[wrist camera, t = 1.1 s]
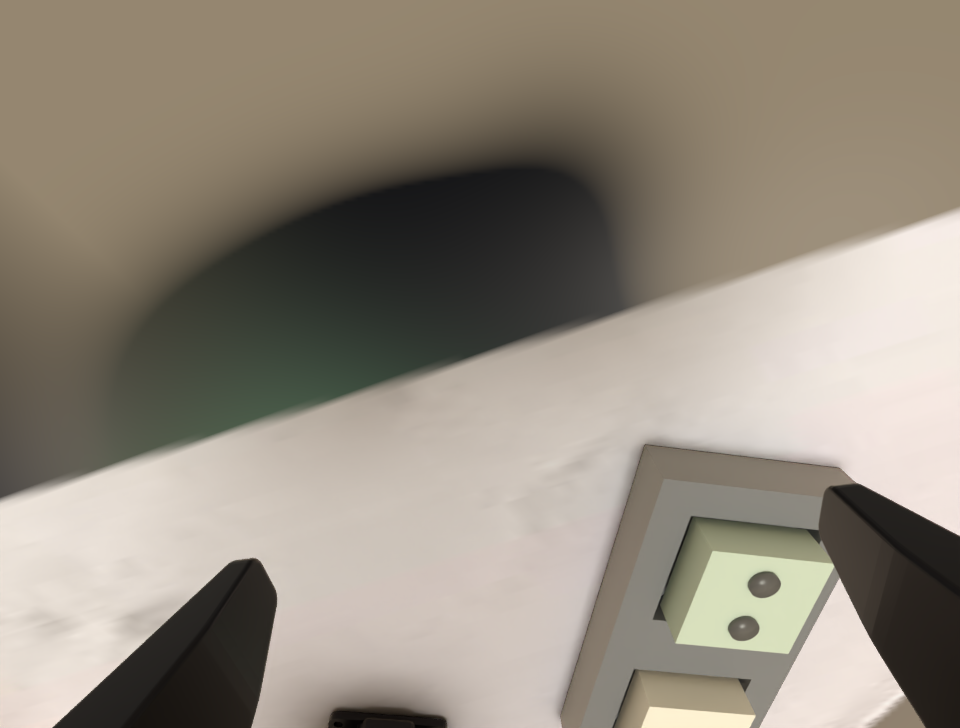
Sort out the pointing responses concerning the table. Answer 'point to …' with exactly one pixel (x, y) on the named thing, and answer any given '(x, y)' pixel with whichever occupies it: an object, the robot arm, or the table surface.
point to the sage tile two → (744, 585)
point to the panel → (651, 559)
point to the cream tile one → (684, 702)
